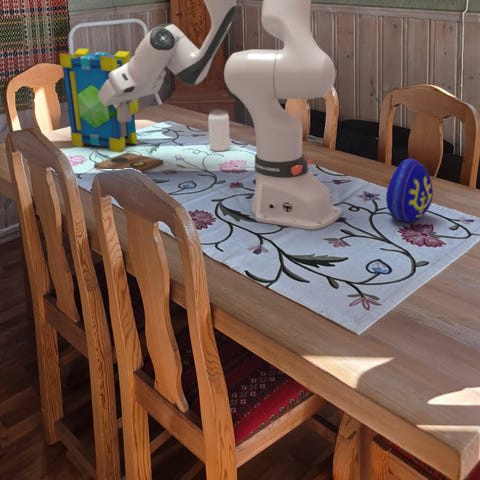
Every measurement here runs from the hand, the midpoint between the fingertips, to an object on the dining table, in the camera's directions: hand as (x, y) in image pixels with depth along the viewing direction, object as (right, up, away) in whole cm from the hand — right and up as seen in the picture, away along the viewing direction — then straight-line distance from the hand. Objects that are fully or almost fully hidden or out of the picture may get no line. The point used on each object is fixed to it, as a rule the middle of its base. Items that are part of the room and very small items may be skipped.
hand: (121, 104), depth 201 cm
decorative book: (-10, -8, +26) cm, 29 cm away
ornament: (+75, -35, -37) cm, 90 cm away
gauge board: (+1, -18, +5) cm, 18 cm away
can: (+28, -11, +18) cm, 35 cm away
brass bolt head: (+5, -17, +2) cm, 18 cm away
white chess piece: (+1, -5, +2) cm, 5 cm away
